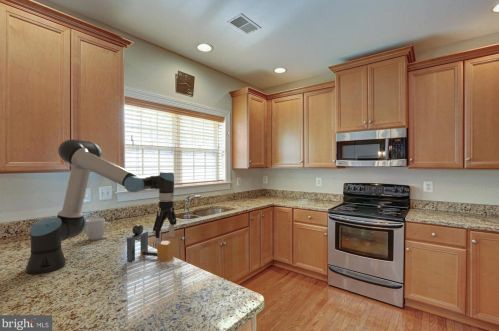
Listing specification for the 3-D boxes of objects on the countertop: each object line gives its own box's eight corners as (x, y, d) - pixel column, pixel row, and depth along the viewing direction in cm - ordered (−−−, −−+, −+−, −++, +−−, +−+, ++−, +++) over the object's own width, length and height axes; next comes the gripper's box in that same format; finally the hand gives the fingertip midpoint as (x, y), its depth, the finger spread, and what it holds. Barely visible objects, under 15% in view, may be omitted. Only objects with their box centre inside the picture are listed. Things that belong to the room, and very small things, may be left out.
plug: (138, 259, 132) (138, 242, 132) (145, 255, 138) (145, 239, 138) (167, 261, 129) (167, 244, 129) (173, 257, 135) (173, 241, 135)
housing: (131, 262, 128) (131, 228, 128) (126, 261, 129) (126, 228, 129) (147, 252, 142) (147, 222, 142) (143, 252, 143) (143, 222, 143)
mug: (109, 234, 178) (109, 216, 178) (112, 238, 170) (112, 219, 169) (85, 238, 169) (85, 219, 169) (87, 242, 160) (87, 222, 160)
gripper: (160, 204, 119) (158, 248, 119) (183, 197, 144) (182, 234, 144) (146, 203, 121) (144, 246, 121) (171, 197, 145) (170, 233, 145)
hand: (165, 239), depth 132 cm, fingers open, 13 cm apart
